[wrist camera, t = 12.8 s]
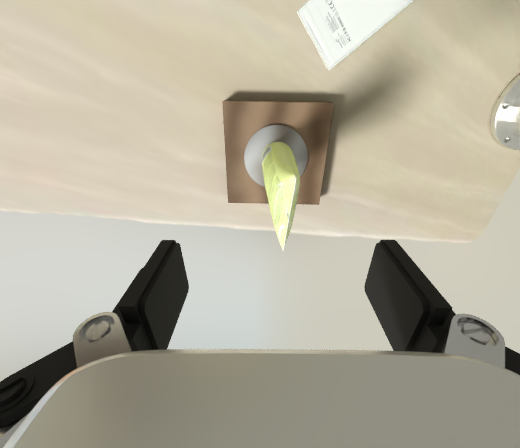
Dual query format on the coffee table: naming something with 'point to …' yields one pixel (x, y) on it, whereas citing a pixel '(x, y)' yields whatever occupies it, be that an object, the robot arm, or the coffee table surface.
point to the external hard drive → (345, 24)
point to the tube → (281, 186)
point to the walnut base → (275, 130)
